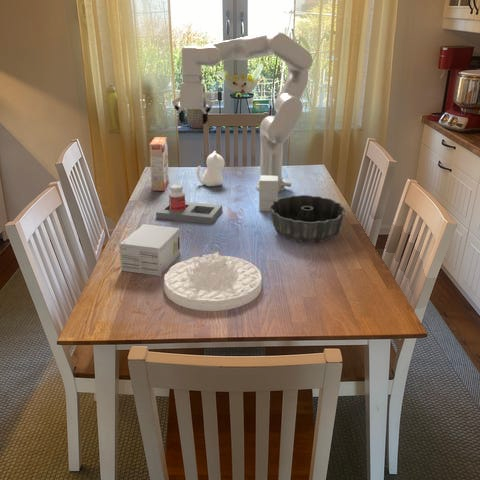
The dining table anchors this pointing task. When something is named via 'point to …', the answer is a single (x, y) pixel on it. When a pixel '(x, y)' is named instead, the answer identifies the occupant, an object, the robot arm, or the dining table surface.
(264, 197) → the supplement box
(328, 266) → the dining table surface
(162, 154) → the cracker box
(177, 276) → the cake
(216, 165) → the cat figurine
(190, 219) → the rail
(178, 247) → the supplement box
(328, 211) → the bundt pan
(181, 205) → the pill bottle
